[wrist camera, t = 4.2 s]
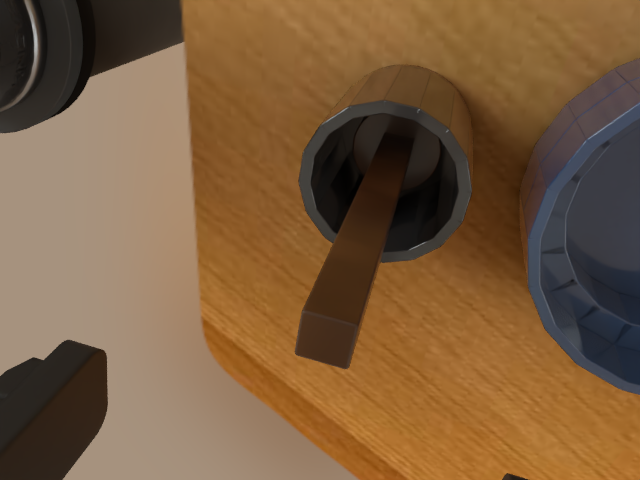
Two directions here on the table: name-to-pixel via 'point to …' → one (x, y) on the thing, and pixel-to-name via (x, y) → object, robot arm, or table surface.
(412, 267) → the table surface
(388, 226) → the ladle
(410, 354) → the table surface
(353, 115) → the crock
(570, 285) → the mixing bowl
